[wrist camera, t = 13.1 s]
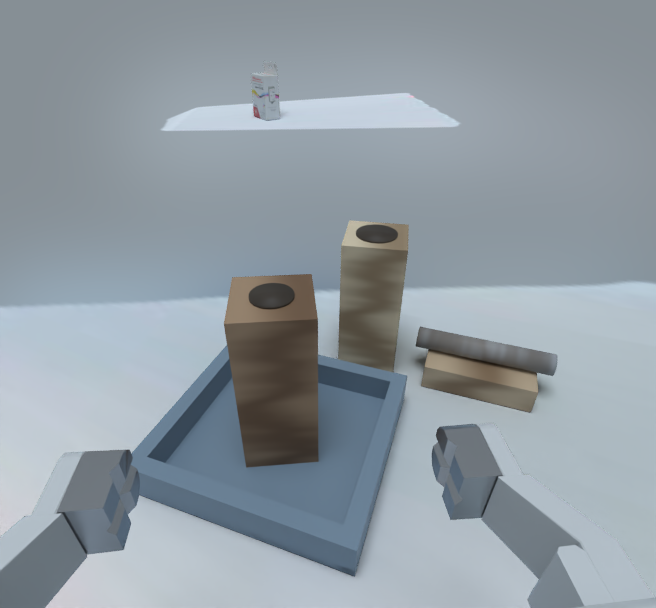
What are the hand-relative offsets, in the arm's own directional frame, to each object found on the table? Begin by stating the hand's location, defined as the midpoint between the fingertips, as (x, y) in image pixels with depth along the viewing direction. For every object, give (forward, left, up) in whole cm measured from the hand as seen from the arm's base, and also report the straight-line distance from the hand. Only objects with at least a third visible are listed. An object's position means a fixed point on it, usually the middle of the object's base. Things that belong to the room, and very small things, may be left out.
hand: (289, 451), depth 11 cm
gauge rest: (+6, +21, -14) cm, 26 cm away
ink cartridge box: (-60, +117, -14) cm, 132 cm away
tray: (-6, +10, -14) cm, 18 cm away
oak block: (-3, +21, -14) cm, 26 cm away
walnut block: (-6, +10, -13) cm, 18 cm away
